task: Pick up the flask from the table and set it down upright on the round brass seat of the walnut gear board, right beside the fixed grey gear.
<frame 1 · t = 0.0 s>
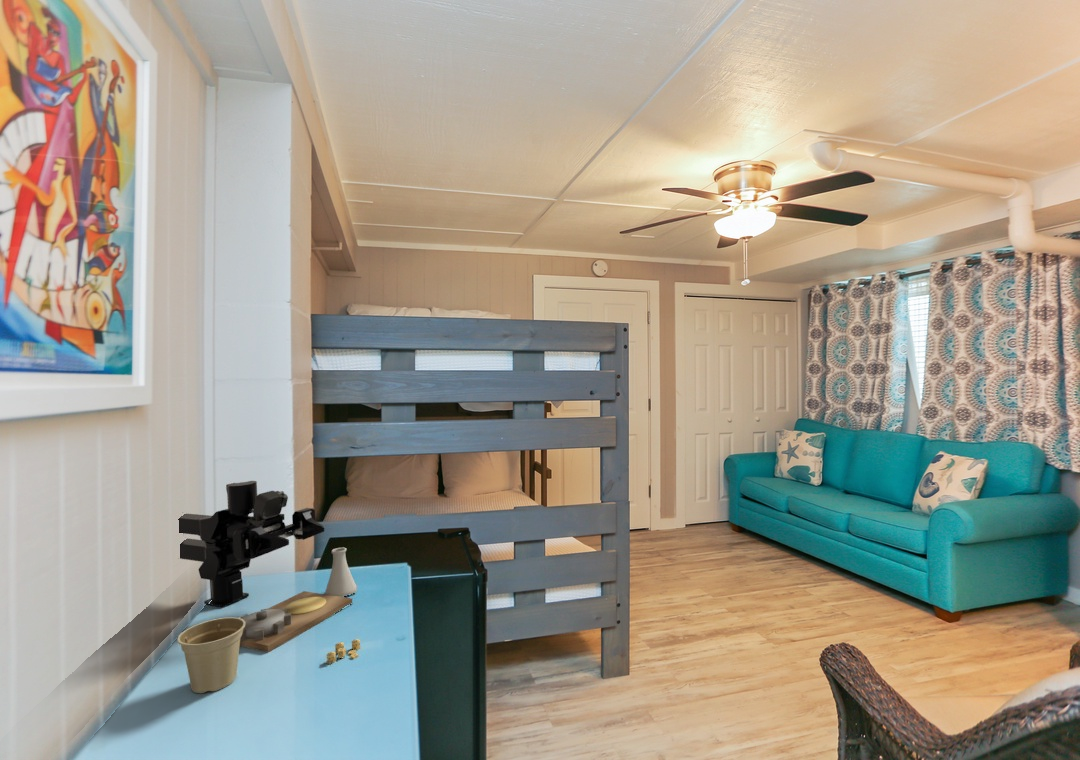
hand: (306, 535, 110), 17 cm above the table, tool horizontal, fingers open, 9 cm apart
dice set: (345, 658, 94), on the table
gear board: (288, 621, 108), on the table
flask: (341, 594, 121), on the table
flower pot: (215, 684, 86), on the table
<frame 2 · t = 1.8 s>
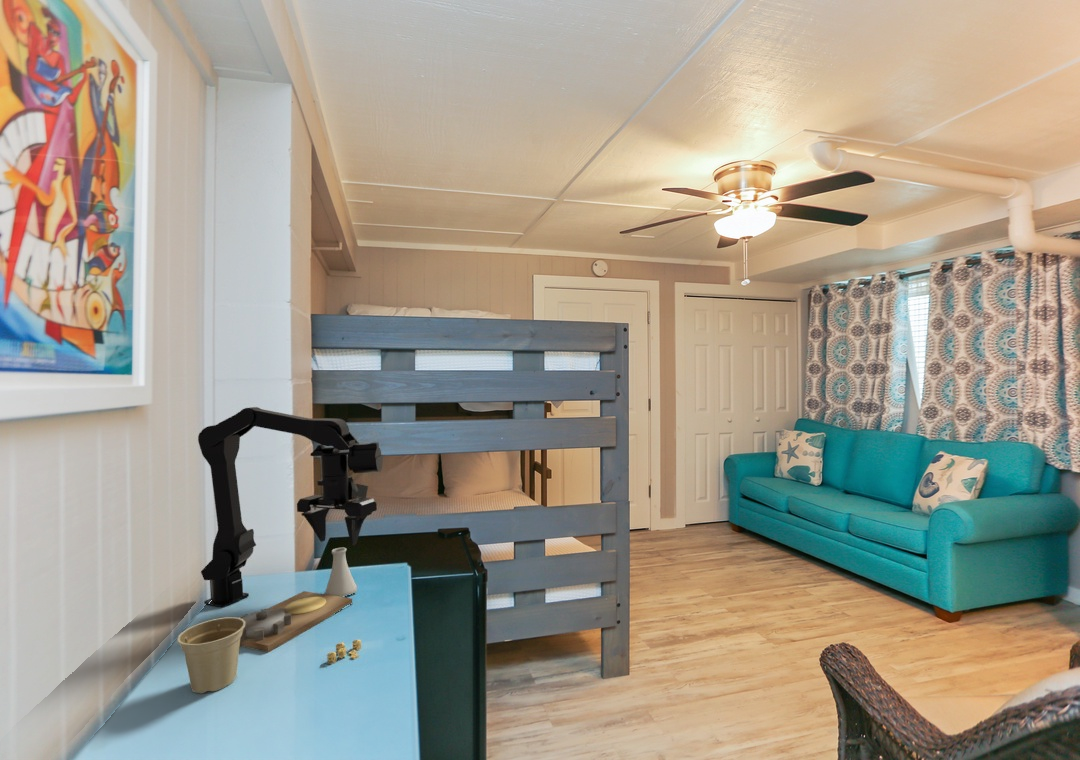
hand: (338, 542, 121), 11 cm above the table, tool pointing down, fingers open, 9 cm apart
nothing on the table moved.
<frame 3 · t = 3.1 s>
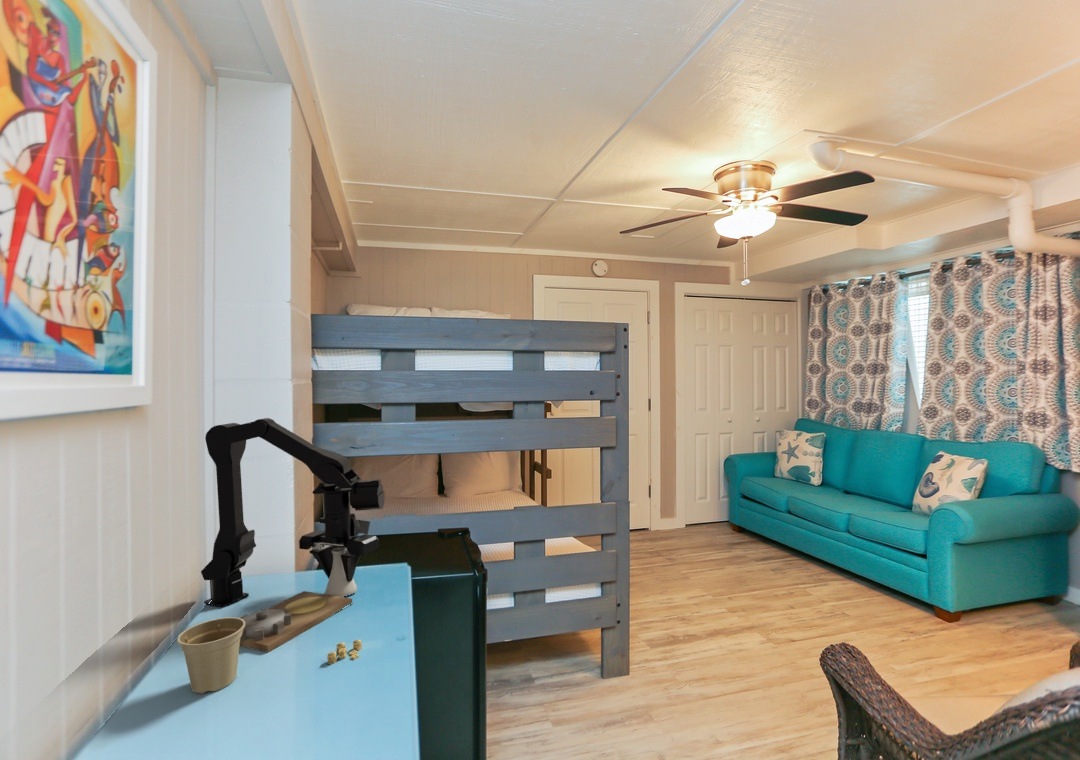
hand: (340, 579, 121), 3 cm above the table, tool pointing down, fingers closed on flask, 5 cm apart
flask: (341, 594, 121), on the table, touching gripper
everything else where it was.
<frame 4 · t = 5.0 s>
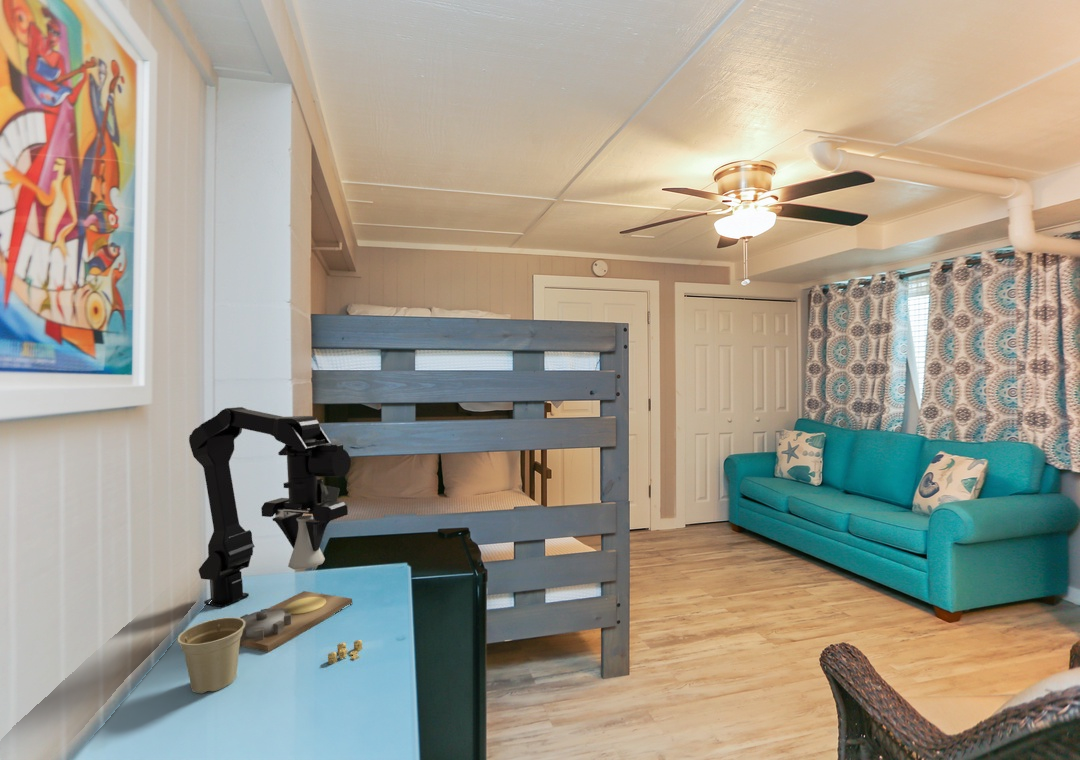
hand: (306, 549, 113), 13 cm above the table, tool pointing down, fingers closed on flask, 5 cm apart
flask: (306, 565, 113), point 10 cm above the table, touching gripper
everything else where it was.
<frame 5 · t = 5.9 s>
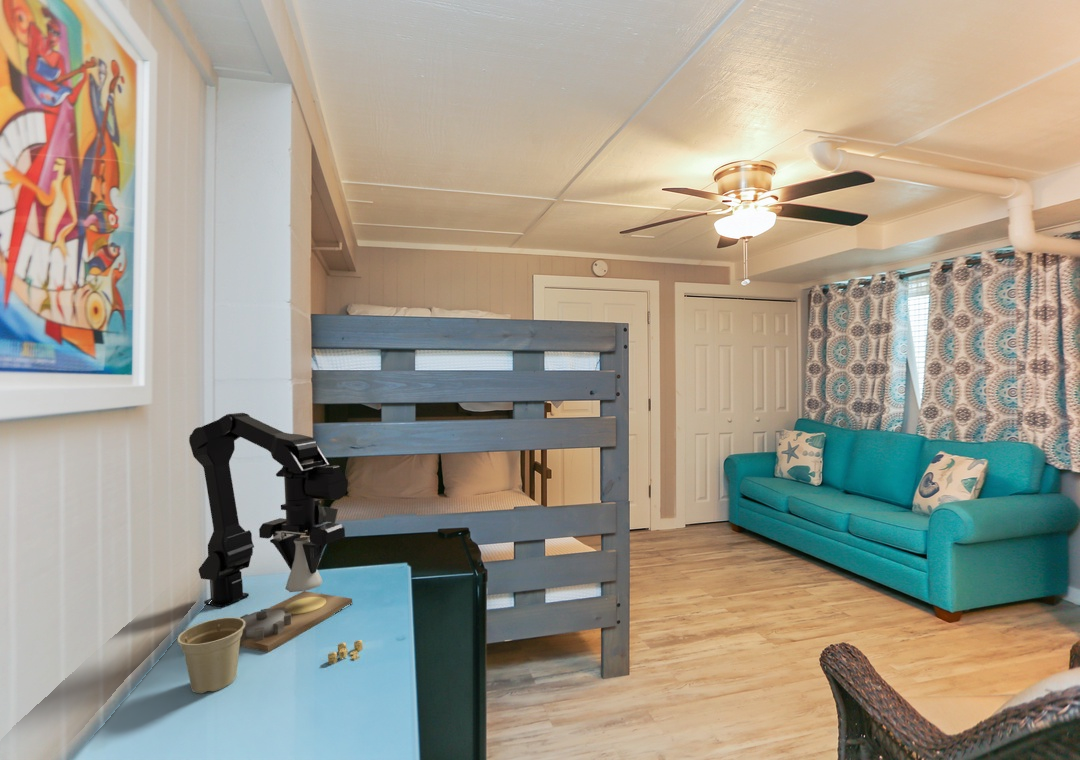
hand: (303, 571, 112), 8 cm above the table, tool pointing down, fingers closed on flask, 5 cm apart
flask: (304, 587, 112), point 5 cm above the table, touching gripper
everything else where it was.
when the fingers open (5 cm above the table, at t = 6.9 s): flask stays where it is, resting on gear board.
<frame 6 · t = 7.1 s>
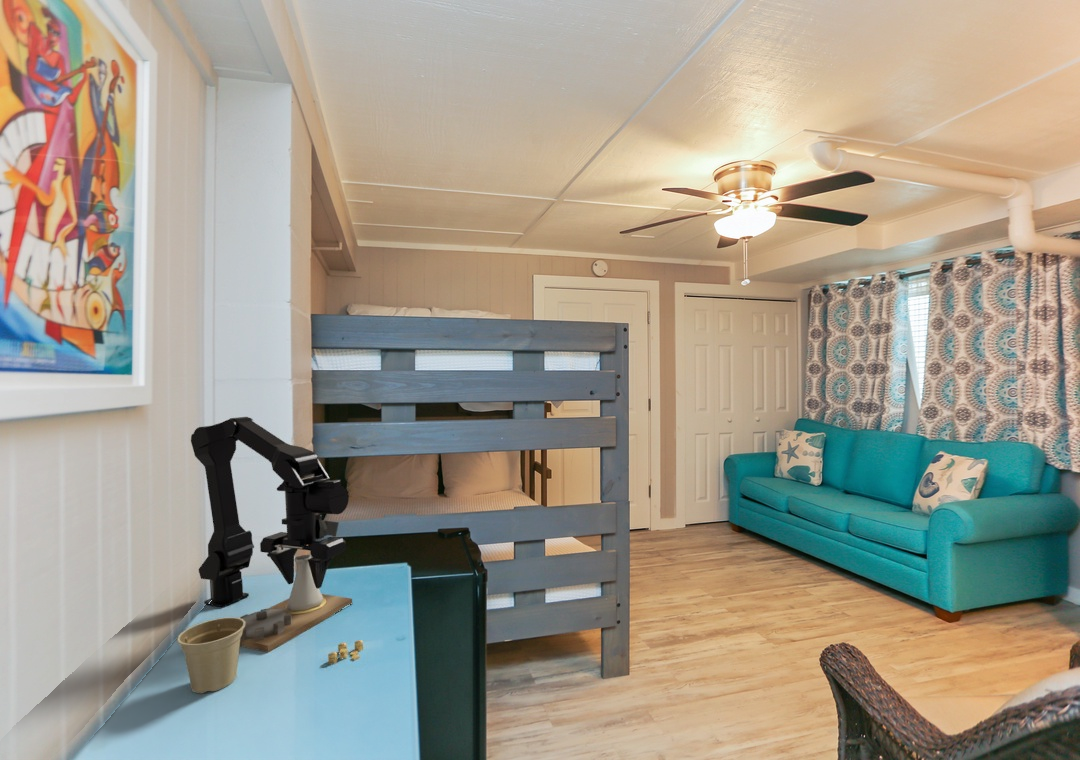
hand: (304, 585, 112), 5 cm above the table, tool pointing down, fingers open, 8 cm apart
flask: (305, 605, 112), point 1 cm above the table, touching gear board
everything else where it was.
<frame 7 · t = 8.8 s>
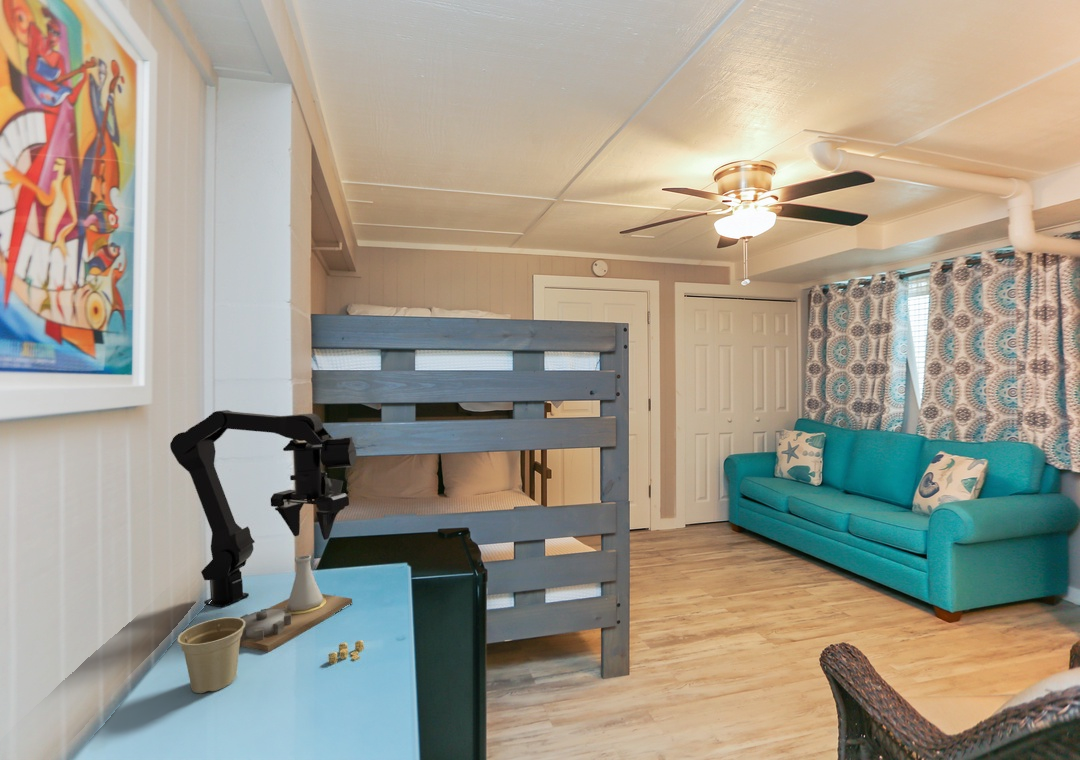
hand: (311, 537, 121), 13 cm above the table, tool pointing down, fingers open, 9 cm apart
nothing on the table moved.
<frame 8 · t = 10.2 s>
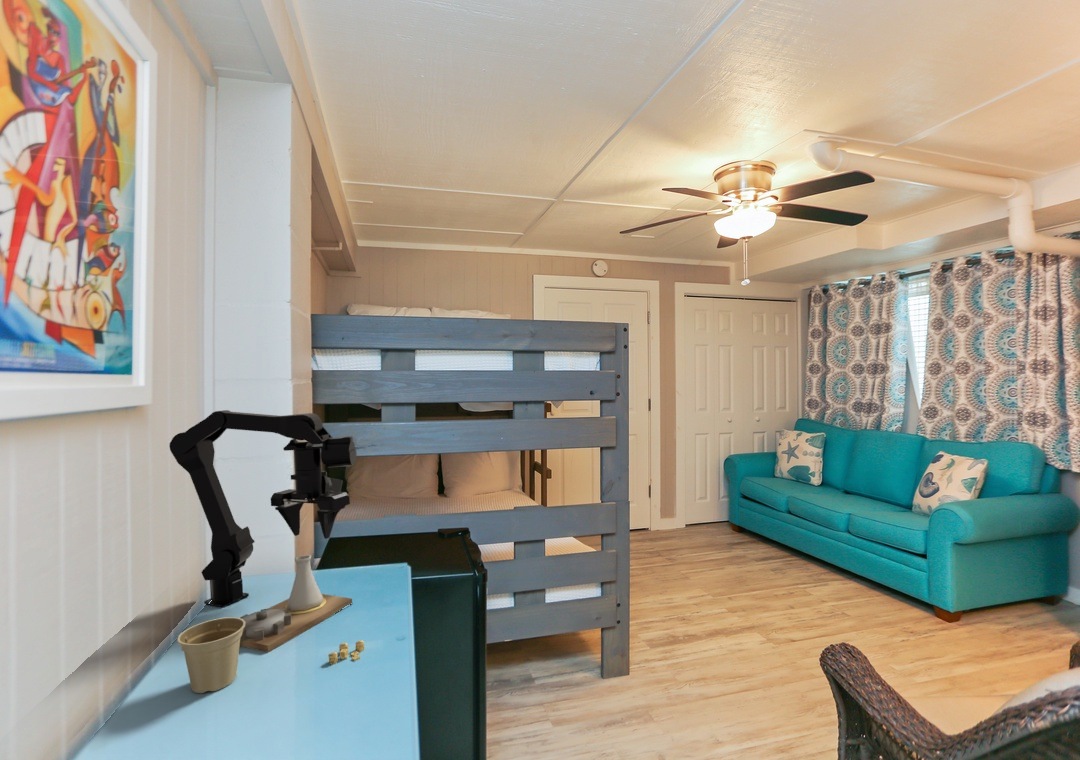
hand: (311, 536, 122), 13 cm above the table, tool pointing down, fingers open, 9 cm apart
nothing on the table moved.
at the end: flask 0.1 cm from the target spot on the gear board, point 1.3 cm above the gear board's base; flask tilted 0°; the gripper is holding nothing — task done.
